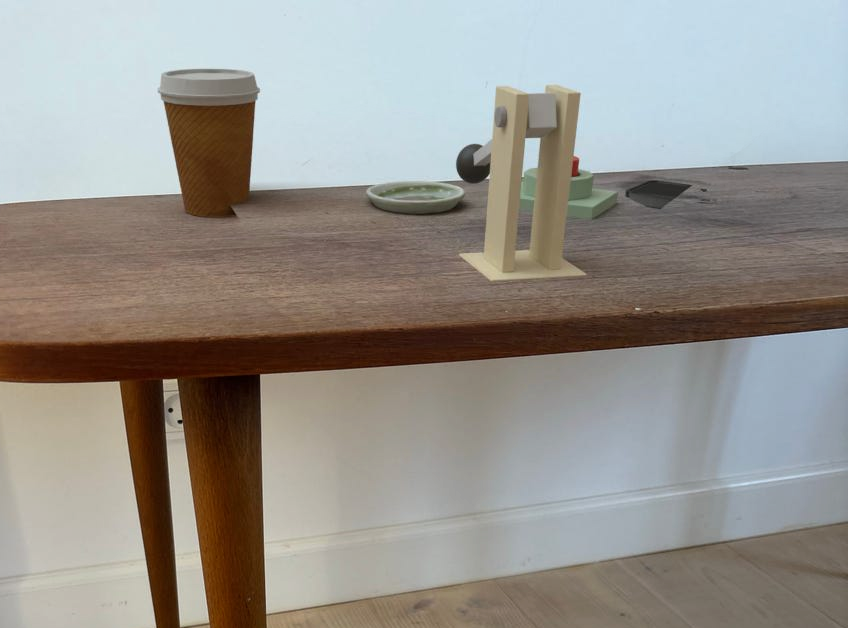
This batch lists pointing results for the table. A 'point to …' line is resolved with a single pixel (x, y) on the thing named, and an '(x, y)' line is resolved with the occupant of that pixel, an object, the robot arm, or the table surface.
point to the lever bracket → (549, 192)
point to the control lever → (477, 157)
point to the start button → (575, 166)
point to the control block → (571, 195)
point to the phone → (656, 192)
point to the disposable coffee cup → (211, 136)
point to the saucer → (441, 192)
